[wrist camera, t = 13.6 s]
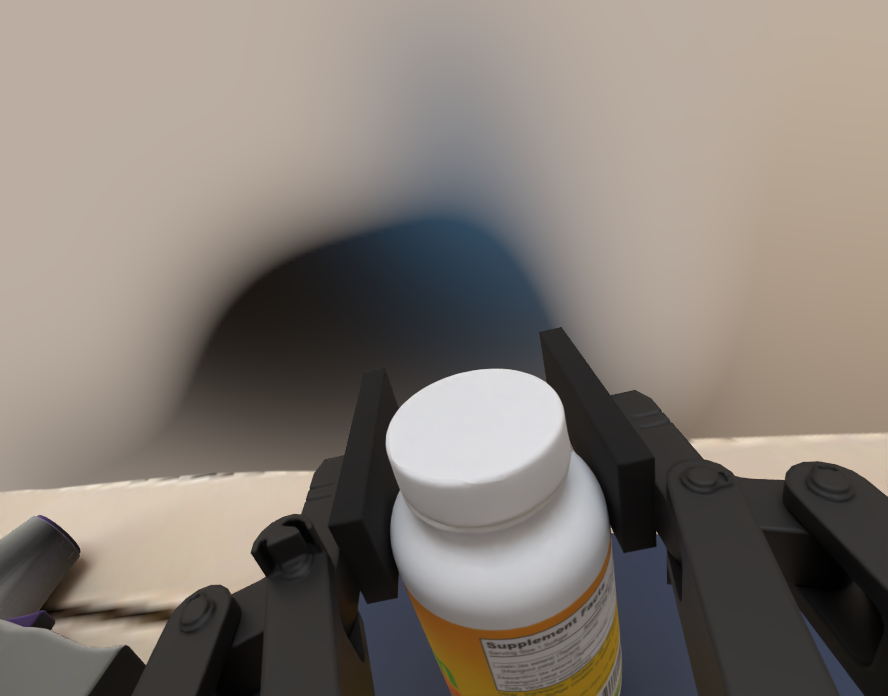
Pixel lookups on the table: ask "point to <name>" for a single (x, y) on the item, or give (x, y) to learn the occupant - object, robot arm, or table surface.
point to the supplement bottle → (504, 539)
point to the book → (640, 622)
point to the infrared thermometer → (50, 624)
